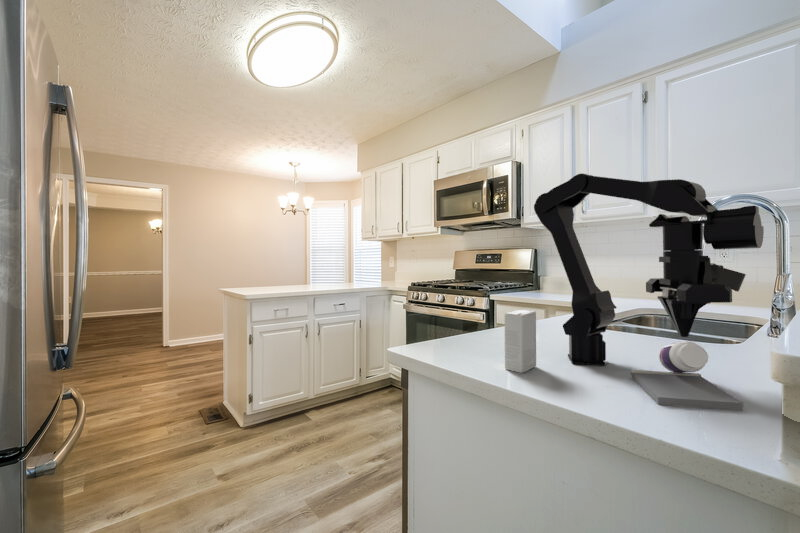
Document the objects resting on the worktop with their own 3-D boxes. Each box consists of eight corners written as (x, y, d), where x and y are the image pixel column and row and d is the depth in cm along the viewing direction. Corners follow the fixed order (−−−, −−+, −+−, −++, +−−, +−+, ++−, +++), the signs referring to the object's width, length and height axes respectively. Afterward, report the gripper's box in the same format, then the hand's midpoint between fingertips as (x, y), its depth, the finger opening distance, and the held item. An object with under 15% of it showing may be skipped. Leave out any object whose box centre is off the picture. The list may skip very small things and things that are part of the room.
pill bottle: (675, 378, 70) (694, 378, 62) (651, 355, 73) (667, 352, 64) (699, 361, 70) (722, 358, 61) (674, 338, 72) (693, 332, 63)
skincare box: (518, 363, 82) (517, 308, 82) (537, 367, 79) (537, 310, 78) (503, 369, 78) (502, 312, 77) (523, 374, 75) (522, 314, 74)
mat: (658, 404, 58) (658, 395, 58) (631, 377, 71) (631, 369, 71) (742, 410, 55) (742, 400, 55) (698, 381, 68) (698, 373, 68)
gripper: (773, 248, 56) (774, 351, 56) (708, 249, 74) (709, 327, 74) (686, 250, 59) (688, 348, 59) (644, 251, 77) (645, 326, 77)
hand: (683, 336), depth 67 cm, fingers closed
